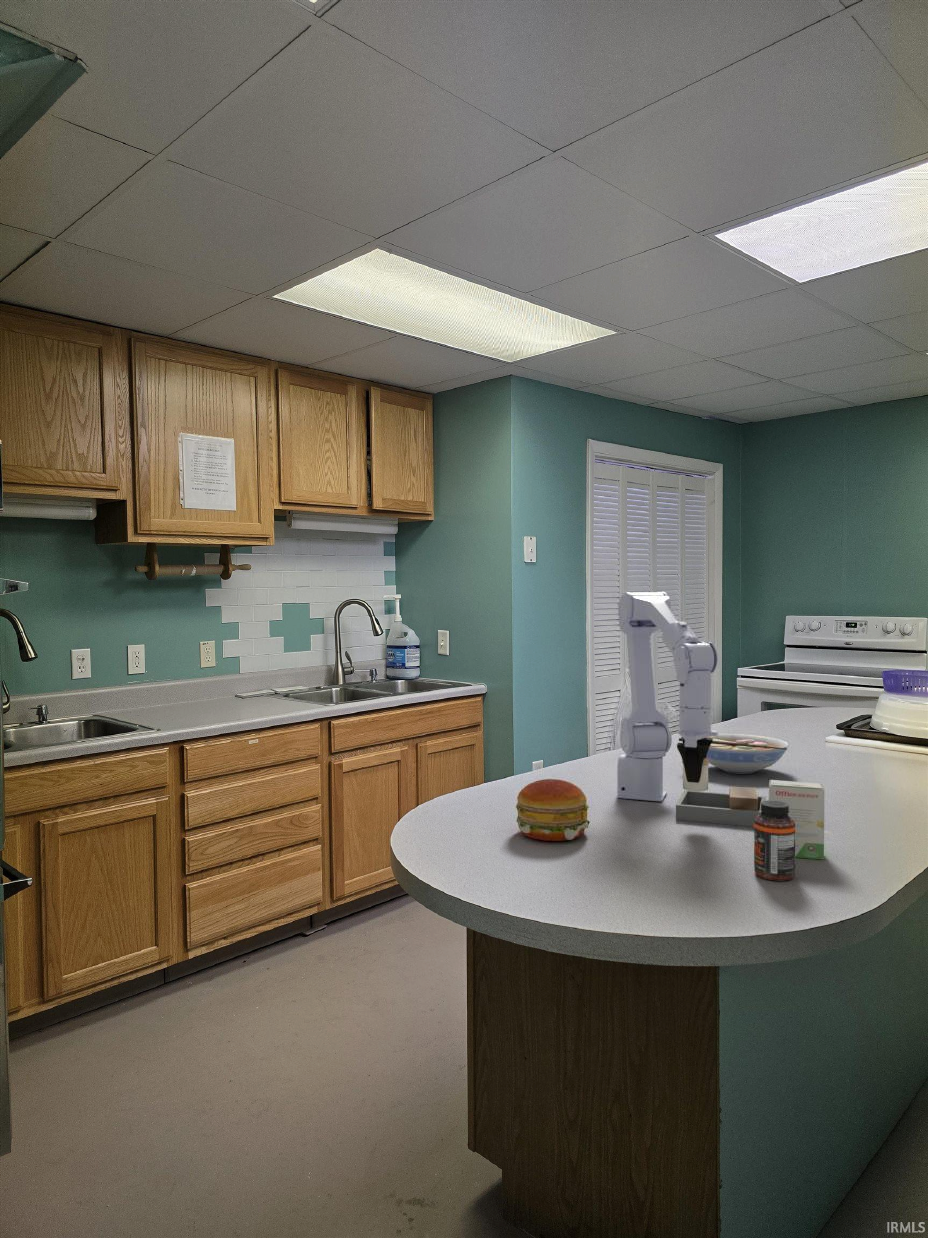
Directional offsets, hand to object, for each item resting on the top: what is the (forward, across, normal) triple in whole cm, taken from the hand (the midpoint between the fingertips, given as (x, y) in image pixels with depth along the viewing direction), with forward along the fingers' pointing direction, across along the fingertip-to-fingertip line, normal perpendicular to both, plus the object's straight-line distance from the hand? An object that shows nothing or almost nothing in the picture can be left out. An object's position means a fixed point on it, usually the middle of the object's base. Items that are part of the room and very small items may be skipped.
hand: (694, 779), depth 153 cm
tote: (+9, +10, -4) cm, 14 cm away
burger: (+9, -15, +23) cm, 29 cm away
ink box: (+9, -11, -18) cm, 23 cm away
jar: (+2, 0, 0) cm, 2 cm away
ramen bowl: (+9, +53, -4) cm, 54 cm away
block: (+9, +10, -8) cm, 15 cm away
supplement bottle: (+9, -24, -15) cm, 29 cm away
